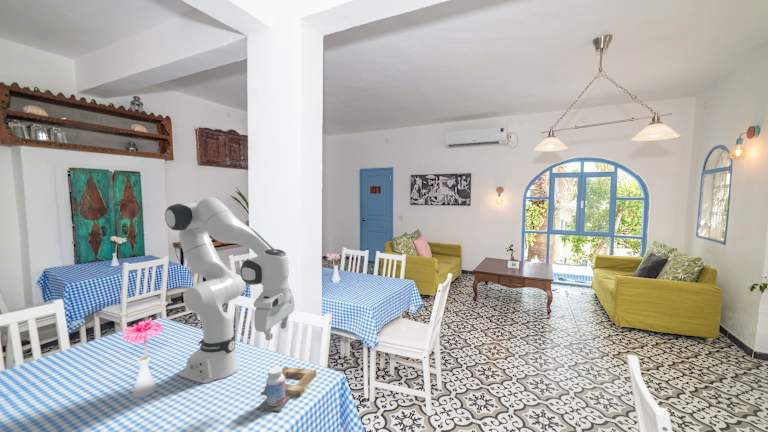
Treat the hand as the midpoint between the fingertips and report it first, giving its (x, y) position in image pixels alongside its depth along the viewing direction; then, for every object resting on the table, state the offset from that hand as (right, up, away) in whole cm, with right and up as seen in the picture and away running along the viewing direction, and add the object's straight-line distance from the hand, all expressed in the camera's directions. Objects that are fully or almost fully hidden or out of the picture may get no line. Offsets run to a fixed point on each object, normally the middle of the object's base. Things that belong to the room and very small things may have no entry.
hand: (276, 333), depth 111 cm
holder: (+3, -23, +9) cm, 24 cm away
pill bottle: (+1, -23, -3) cm, 23 cm away
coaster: (0, -23, -3) cm, 23 cm away
